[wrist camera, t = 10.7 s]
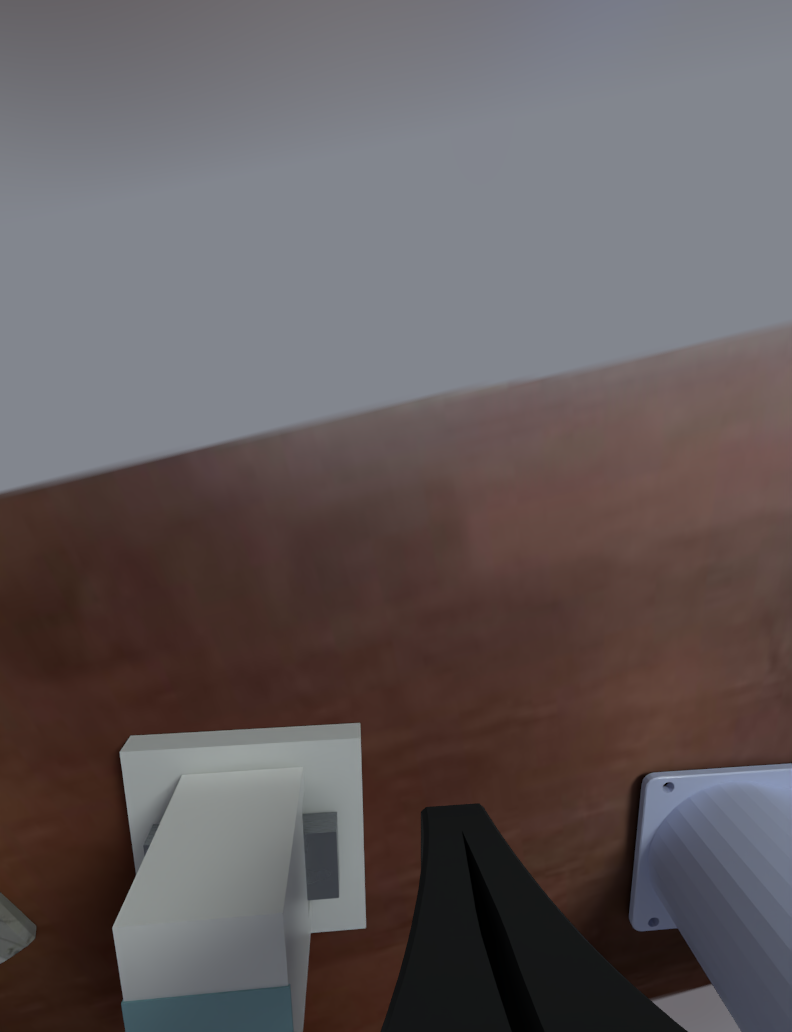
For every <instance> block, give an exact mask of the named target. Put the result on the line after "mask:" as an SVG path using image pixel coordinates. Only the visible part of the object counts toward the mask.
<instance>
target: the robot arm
mask: <svg viewBox="0 0 792 1032" xmlns="http://www.w3.org/2000/svg"><path fill="white" fill-rule="evenodd" d="M665 783H668V784H667V785H666V786H663V785H664V784H665ZM629 921H630V923H631V925H632V927H633V928H634V929H635V930H637V931H651V930H663V929H674V928H678V930H679V931H680V933H681V935H682V936H683V938H684V939H685V941H686V943H687V944H688V946H689V947H690V949H691V951H692V952H693V954H694V956H695V957H696V959H697V960H698V962H699V964H700V965H701V967H702V969H703V970H704V972H705V973H706V975H707V977H708V978H709V980H710V981H711V983H712V985H713V986H714V988H715V989H716V991H717V993H718V994H719V996H720V998H721V999H722V1001H723V1002H724V1004H725V1006H726V1007H727V1009H728V1011H729V1012H730V1014H731V1015H732V1017H733V1018H734V1020H735V1022H736V1023H737V1025H738V1027H739V1028H740V1030H741V1032H792V763H789V764H774V765H759V766H744V767H729V768H714V769H699V770H684V771H669V772H654V773H650V774H648V775H646V776H645V777H644V779H643V781H642V784H641V795H640V805H639V815H638V826H637V836H636V846H635V857H634V867H633V877H632V887H631V898H630V908H629ZM381 1032H687V1031H686V1030H685V1029H684V1028H682V1027H681V1026H680V1025H679V1024H677V1023H676V1022H675V1021H674V1020H673V1019H671V1018H670V1017H669V1016H668V1015H667V1014H666V1013H665V1012H663V1011H662V1010H661V1009H660V1008H659V1007H657V1006H656V1005H655V1004H654V1003H653V1002H652V1001H651V1000H649V999H648V998H647V997H646V996H645V995H644V994H642V993H641V992H640V991H639V990H638V989H637V988H635V987H634V986H633V985H632V984H631V983H630V982H629V981H628V980H627V979H626V978H625V977H624V976H623V975H622V974H620V973H619V972H618V971H617V970H616V969H615V968H614V967H613V966H612V965H611V964H610V963H609V962H608V961H607V960H606V959H605V958H604V957H603V956H602V955H601V954H600V953H599V952H598V951H597V950H596V949H595V948H594V947H593V946H592V945H591V944H590V943H589V942H588V941H587V940H586V939H585V938H584V937H583V936H582V934H581V933H580V932H579V931H578V930H577V929H576V928H575V927H574V926H573V925H572V924H571V922H570V921H569V920H568V919H567V918H566V917H565V916H564V915H563V913H562V912H561V911H560V910H559V909H558V908H557V906H556V905H555V904H554V903H553V902H552V901H551V899H550V898H549V897H548V896H547V895H546V893H545V892H544V891H543V890H542V888H541V887H540V886H539V885H538V883H537V882H536V881H535V880H534V878H533V877H532V876H531V874H530V873H529V872H528V871H527V869H526V868H525V867H524V865H523V864H522V863H521V862H520V860H519V859H518V857H517V856H516V855H515V853H514V852H513V851H512V849H511V848H510V846H509V845H508V844H507V842H506V841H505V839H504V838H503V837H502V835H501V834H500V832H499V831H498V829H497V828H496V826H495V825H494V823H493V822H492V820H491V818H490V817H489V815H488V814H487V812H486V811H485V809H484V807H482V806H481V805H480V804H465V805H450V806H436V807H426V808H425V809H424V810H423V811H422V812H421V875H420V882H419V890H418V896H417V901H416V906H415V911H414V916H413V921H412V926H411V930H410V935H409V939H408V943H407V947H406V951H405V955H404V959H403V962H402V966H401V970H400V973H399V977H398V980H397V983H396V986H395V990H394V993H393V996H392V999H391V1002H390V1006H389V1009H388V1012H387V1015H386V1018H385V1021H384V1024H383V1026H382V1029H381Z"/></svg>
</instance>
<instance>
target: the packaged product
mask: <svg viewBox="0 0 792 1032" xmlns="http://www.w3.org/2000/svg"><path fill="white" fill-rule="evenodd" d="M35 936H36V925H35V924H34V923H33V922H32V921H30V920H29V919H28V918H27V917H26V916H25V915H24V914H23V913H22V912H21V911H20V910H19V909H18V908H17V907H16V906H15V905H14V904H12V903H11V902H10V901H9V900H8V899H7V898H6V897H5V896H4V895H3V894H2V893H1V892H0V964H1V963H2V962H4V961H6V960H7V959H9V958H10V957H12V956H13V955H15V954H16V953H18V952H19V951H21V950H22V949H23V948H25V947H26V946H28V945H29V944H30V943H31V942H32V941H33V940H34V939H35Z"/></svg>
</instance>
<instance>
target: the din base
mask: <svg viewBox="0 0 792 1032" xmlns="http://www.w3.org/2000/svg"><path fill="white" fill-rule="evenodd" d="M120 759H121V767H122V774H123V782H124V789H125V796H126V804H127V811H128V819H129V826H130V834H131V841H132V848H133V856H134V863H135V871H136V875H137V872H138V870H139V868H140V866H141V864H142V862H143V859H144V857H145V855H144V847H143V845H144V843H145V840H146V838H147V836H148V834H149V832H150V830H151V828H152V826H153V824H160V822H161V820H162V818H163V816H164V813H165V811H166V809H167V807H168V805H169V802H170V800H171V798H172V796H173V794H174V792H175V789H176V787H177V785H178V783H179V781H180V778H181V776H182V775H188V774H203V773H218V772H233V771H248V770H263V769H278V768H293V767H303V777H304V796H303V804H302V814H309V813H323V812H337V820H338V845H339V870H340V884H339V898H332V899H320V900H311V910H312V922H311V933H316V932H327V931H339V930H351V929H362V928H366V906H365V871H364V835H363V800H362V764H361V729H360V723H349V724H332V725H314V726H296V727H279V728H261V729H243V730H225V731H208V732H190V733H172V734H155V735H137V736H130V737H129V739H128V740H127V742H126V743H125V745H124V746H123V748H122V749H121V751H120Z"/></svg>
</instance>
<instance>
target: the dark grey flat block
mask: <svg viewBox="0 0 792 1032" xmlns="http://www.w3.org/2000/svg"><path fill="white" fill-rule="evenodd" d="M302 819H303V835H304V851H305V868H306V884H307V900H320V899H332V898H339V884H340V870H339V845H338V820H337V812H323V813H309V814H302ZM158 827H159V824H153V826H152V828H151V830H150V832H149V834H148V836H147V838H146V840H145V843H144V845H143V847H144V855H146V853H147V851H148V848H149V846H150V844H151V842H152V840H153V837H154V835H155V833H156V831H157V829H158Z"/></svg>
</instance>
